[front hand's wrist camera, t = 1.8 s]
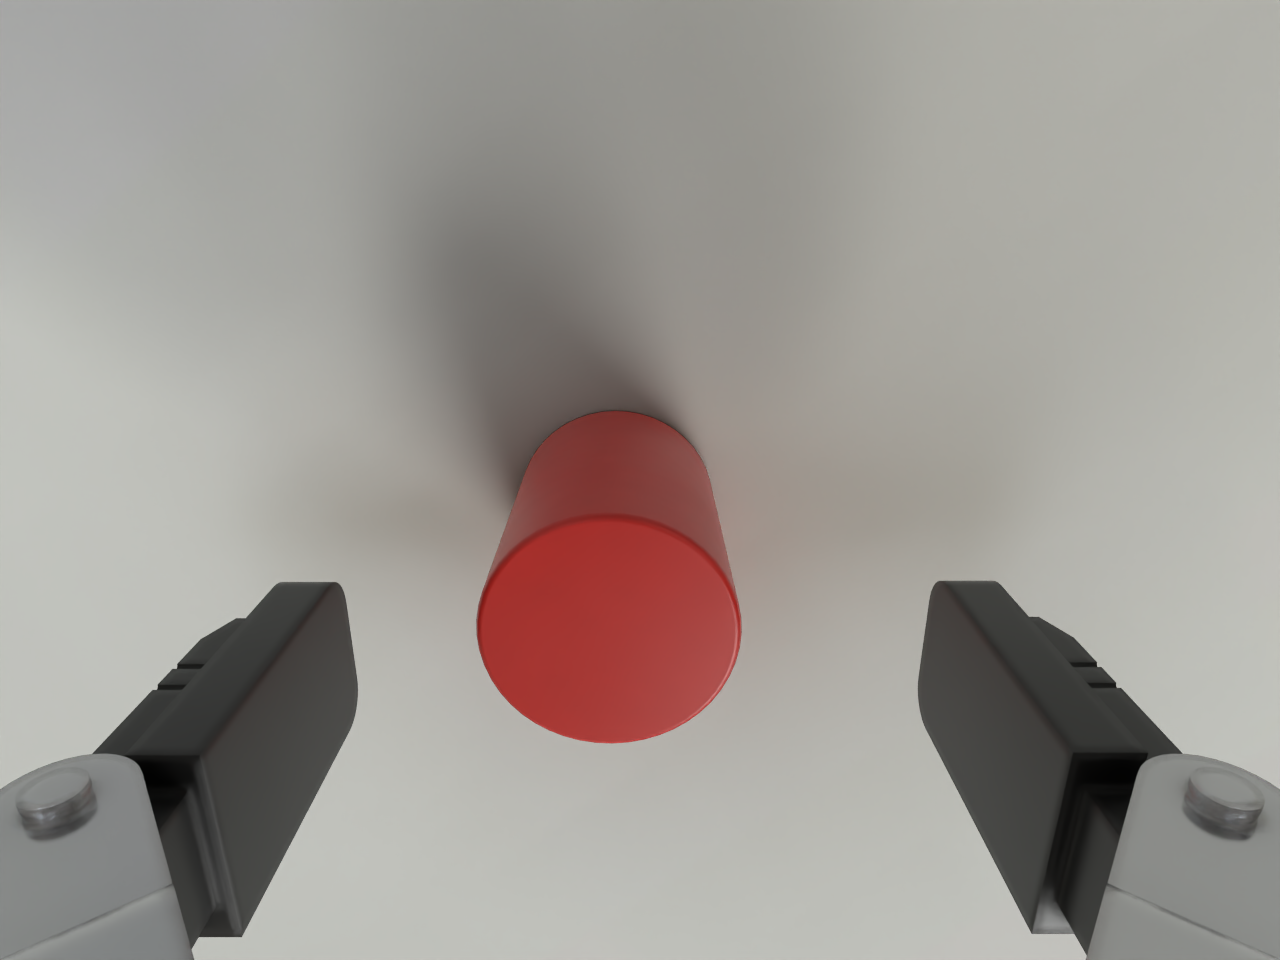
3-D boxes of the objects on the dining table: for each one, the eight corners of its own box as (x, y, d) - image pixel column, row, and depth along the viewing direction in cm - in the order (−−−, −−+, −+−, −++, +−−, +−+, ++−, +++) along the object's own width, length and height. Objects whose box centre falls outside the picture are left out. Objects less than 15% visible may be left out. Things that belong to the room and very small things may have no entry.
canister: (505, 561, 16) (453, 717, 11) (543, 388, 14) (503, 486, 10) (682, 602, 16) (700, 767, 12) (735, 436, 15) (776, 550, 10)
